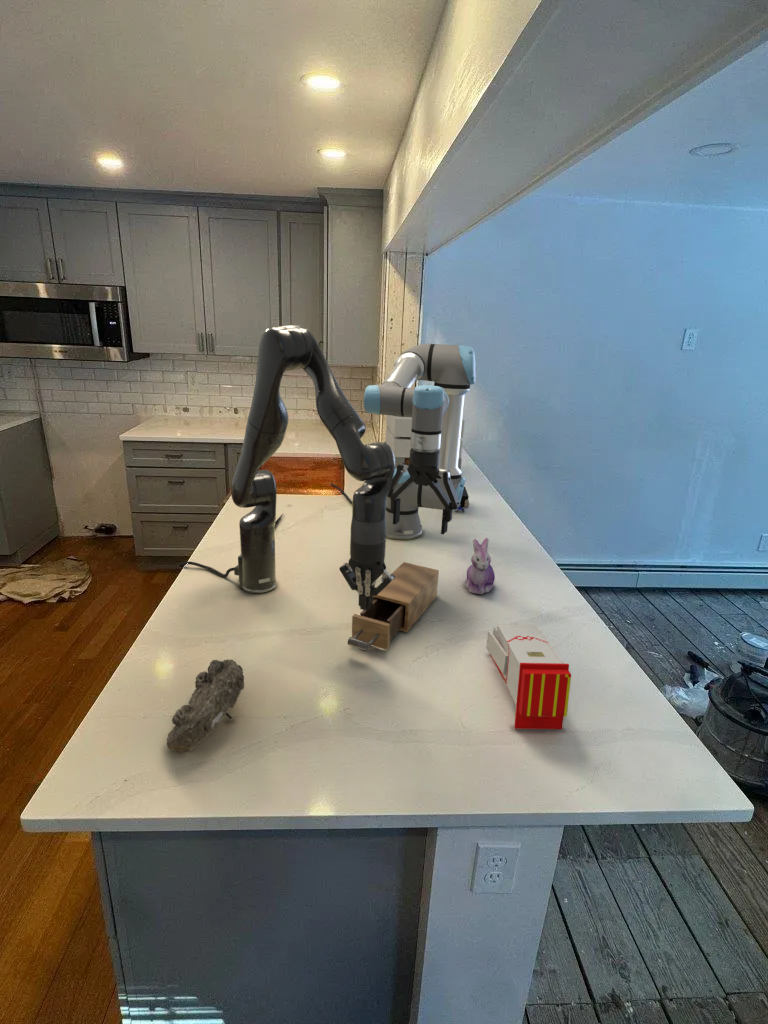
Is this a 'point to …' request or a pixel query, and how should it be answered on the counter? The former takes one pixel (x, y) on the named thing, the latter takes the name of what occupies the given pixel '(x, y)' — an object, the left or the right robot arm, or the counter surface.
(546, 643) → the toy
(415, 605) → the cabinet
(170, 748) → the fossil
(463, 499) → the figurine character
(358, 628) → the drawer
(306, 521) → the counter surface
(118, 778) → the counter surface
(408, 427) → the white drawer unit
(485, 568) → the figurine
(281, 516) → the feather
